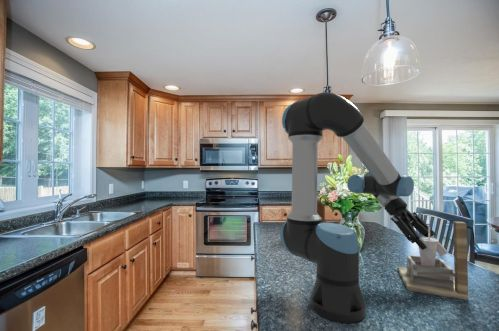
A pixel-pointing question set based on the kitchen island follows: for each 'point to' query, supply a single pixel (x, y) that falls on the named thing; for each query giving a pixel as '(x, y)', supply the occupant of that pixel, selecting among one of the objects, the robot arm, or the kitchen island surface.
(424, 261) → the smoothie
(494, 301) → the kitchen island surface
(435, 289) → the cup bracket
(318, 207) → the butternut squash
